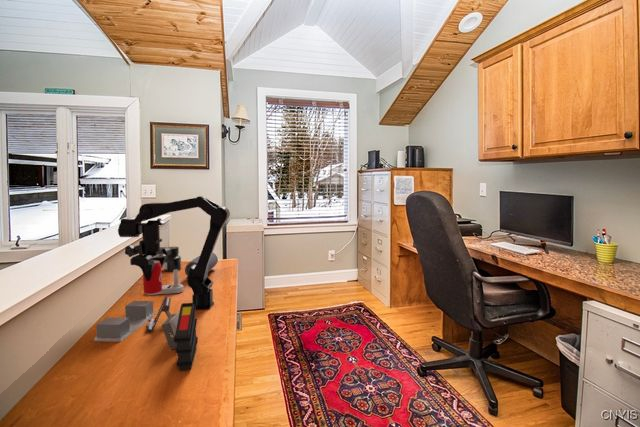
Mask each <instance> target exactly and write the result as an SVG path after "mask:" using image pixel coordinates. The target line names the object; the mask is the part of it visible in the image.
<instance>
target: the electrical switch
mask: <svg viewBox="0 0 640 427" xmlns="http://www.w3.org/2000/svg"><path fill="white" fill-rule="evenodd" d="M179 313H180V310H178V311H177V312H176V313H173V314H172V313H171V316H170V317H169V318H168V317H167V319H166V320H165V321H163V323H161V328H162V331H163V333H164V336H165V337H164V338H165V340H166V342H167V345H168V348H169V350H170V351H171V350H174V349H175V350H176V348H177V342H176V343H174V338H175V333H176V328H177V323H178V318H179Z"/></svg>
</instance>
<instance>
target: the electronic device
mask: <svg viewBox="0 0 640 427" xmlns="http://www.w3.org/2000/svg"><path fill="white" fill-rule="evenodd" d="M172 272H173V278H172V280H173V284H166V285H165V284H162V291H161V292H160V293H158V294H157V295H166V294H167V295H168V294H169V295H170V294H178V293H179V294H180V293H182V292H184V291H185V288H184V285H183V284H181V283H180V281H179V270H177V269H176V270H173V271H172Z"/></svg>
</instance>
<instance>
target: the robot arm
mask: <svg viewBox="0 0 640 427" xmlns="http://www.w3.org/2000/svg"><path fill="white" fill-rule="evenodd" d="M194 208H199V209H201V210H202V211H203V212H204V213H205V214H207V215H208V216H210V219H209V230H208V232H207V235H206V238H205V241H204V244H203V247H202V250H201V252H200V255H199V256H200V258H199V260H198V263H197V265H195V264H194V265H193V266H192V267H191V268H190V270H189V275H188V276H187V275H186V276H187V277H186V279H187V285H188V286H189V288H190V289H191V290H192V293H193V294H192V296H191V297H192V301H191V303H194V305H196V308H195V310H210V309H211V308H212V307H213V305H215V301H213V300H214V296H213V292H214V291H213V288H212V286H213V284H214V281H213V280H212V279H210V278H209V277H208V275H209V272H208V265H209V262H210V259H211V256H212V253H214V250H215V247H216V244H217V242H218V239H219V236H220V235H221V234H220V233H221V231H222V230H223V228H224V226H225V225H226V224H227V222H228V219H229V218H230V215H231V212H230V210H229V209H228V207H227V206H223V205H222V206H221V205H219V204H217V203H216V202H214V201H212V200H210V199H208V198H207V197H206V196H204V195H199V196H196V197H193V198H186V199H182V200H176V201H170V202H148V203H144V204H142V205H140V207H139V209H138V213H137V215H136V216H135V217H134V218H130V219H129V218H121V219H120V223H119V225H118V228H117V234H118V235H119V238H140V235H141V236H142V238H141V239H142V240H140V241H138V242H139V244H138V245H135V246H134V245H133V244H130V245H127V246H125V248H124V254H125V255H127V256H128V258H130V262H129V263H130V264H129V265H130V266H135V267H139V268H140V269H141V271H142V275H143V274H144V276H145V278H146V281H150V279H151V276H152V272H153V268H154V265H155V263H152V262H153V260H159V261H160V264H161V270H163V264H164V262H165V260H166V258H167V257H168V256H166V255H170V254H171V250H170V249H169V248H168V247H169V246H167V247H166V246H164V247H163V246H161V242H163V238H160V237H161V235H160V233H161V232H160V226H163V225H165V224H166V222H165V220H163V219H162V218H158V217H161V216H164V215H166V214H169V213H173V212H174V213H175V212H179V211H184V210H185V211H186V210H190V209H194ZM155 218H156V220H155ZM152 219H153V220H152ZM145 221H147V222H145ZM165 254H166V255H165Z"/></svg>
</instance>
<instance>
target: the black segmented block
mask: <svg viewBox="0 0 640 427" xmlns="http://www.w3.org/2000/svg"><path fill="white" fill-rule="evenodd" d="M195 308H196V305H194V303H192V302H183V303H181V306H180V309H179V311H180V313H179V318H178V323H177V328H176V333H175V338H174V343H176V342H177V348H176V349H175V354H176V355H177V361H176V364H175V365H176V367H178V369H177V370H178V371H179V372H180V371H181V372H182V371H189V370H191V369H192V367H193V364H194V360H195V356H196V352H197V344H198V341H199V338H198V336H197V325H198V324H197V323H198V319H197V318H196V315H195V314H196V309H195Z"/></svg>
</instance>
